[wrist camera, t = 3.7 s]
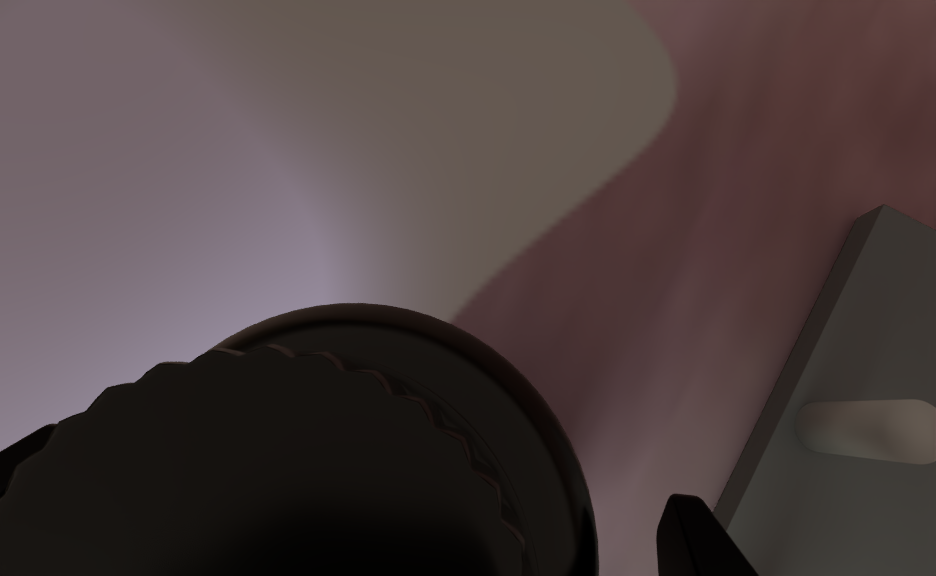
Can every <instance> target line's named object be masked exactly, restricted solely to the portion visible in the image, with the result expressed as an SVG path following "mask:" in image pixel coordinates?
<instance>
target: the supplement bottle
mask: <svg viewBox="0 0 936 576" xmlns="http://www.w3.org/2000/svg"><path fill="white" fill-rule="evenodd" d="M0 576H599V555H598V538H597V531H596V523H595V516H594V511H593V507H592V502H591V498H590V494H589V489H588V486H587V483H586V480H585V477H584V474H583V471H582V468H581V465H580V463H579V460H578V458H577V456H576V454H575V451H574V449H573V447H572V445H571V442H570V440H569V438H568V437H567V435H566V433H565V431H564V429H563V428H562V426H561V424H560V422H559V420H558V419H557V417H556V416H555V414H554V413H553V412H552V410H551V409H550V407H549V406H548V404H547V403H546V401H545V400H544V398H543V397H542V396H541V395H540V394H539V393H538V391H537V390H536V389H535V388H534V387H533V385H532V384H531V383H530V382H529V381H528V380H527V379H526V378H525V377H524V376H523V375H522V374H521V373H520V372H519V371H518V370H517V369H516V368H515V367H514V366H513V365H512V364H511V363H510V362H509V361H507V360H506V359H505V358H504V357H502V356H501V355H500V354H499V353H497V352H496V351H495V350H494V349H492V348H491V347H490V346H488V345H486V344H485V343H483V342H482V341H480V340H479V339H477V338H476V337H474V336H473V335H471V334H469V333H467V332H465V331H463V330H461V329H459V328H457V327H456V326H454V325H452V324H449V323H447V322H444V321H442V320H439V319H437V318H434V317H432V316H429V315H426V314H422V313H419V312H415V311H411V310H408V309H403V308H398V307H393V306H387V305H378V304H366V303H339V304H330V305H321V306H314V307H309V308H304V309H299V310H295V311H291V312H288V313H284V314H281V315H278V316H275V317H271V318H269V319H266V320H264V321H261V322H259V323H257V324H254V325H252V326H249V327H247V328H245V329H243V330H242V331H240V332H238V333H236V334H234V335H232V336H230V337H228V338H226V339H225V340H223V341H222V342H220V343H219V344H217V345H216V346H214V347H213V348H211V349H210V350H208V351H207V352H205V353H204V354H202V355H200V356H198V357H197V358H196V359H194V360H193V361H191V362H190V363H188V362H163V363H159V364H157V365H156V366H155V367H153V368H152V369H150V370H149V371H147V372H146V373H145V374H144V375H143V376H142V378H140V379H139V380H137V381H136V382H135V383H125V384H120V385H116V386H111V387H108V388H106V389H105V390H104V391H103V392H102V393H101V394H100V395H99V396H98V397H97V398H96V399H95V401H94V402H93V403H92V404H91V406H90V407H89V408H88V409H87V410H86V411H85V412H82V413H79V414H76V415H73V416H70V417H68V418H66V419H64V420H61V421H59V423H58V424H57V425H56V427H55V428H54V430H53V431H52V432H51V434H50V436H49V439H48V440H47V442H46V443H45V445H44V446H43V448H42V449H40V450H39V451H37V452H35V453H33V454H31V455H30V456H28V457H27V458H25V459H24V460H22V461H21V462H19V463H18V464H17V465H16V467H15V469H14V471H13V473H12V475H11V478H10V480H9V482H8V485H7V488H6V490H5V493H4V495H3V496H1V497H0Z"/></svg>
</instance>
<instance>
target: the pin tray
mask: <svg viewBox="0 0 936 576" xmlns="http://www.w3.org/2000/svg"><path fill="white" fill-rule="evenodd" d="M713 515H714V516H715V517H716V519H717V520H718V521H719V523H720V524H721V525H722V527H723V528H724V529H725V531H726V532H727V533H728V535H729V536H730V537H731V539H732V540H733V541H734V543H735V544H736V545H737V547H738V548H739V549H740V551H741V552H742V553H743V555H744V556H745V557H746V559H747V560H748V561H749V563H750V564H751V565H752V567H753V568H754V569H755V571H756V572H757V573H758V575H759V576H936V230H934V229H932V228H930V227H928V226H926V225H924V224H922V223H920V222H918V221H916V220H914V219H912V218H910V217H908V216H906V215H904V214H902V213H900V212H899V211H897V210H895V209H893V208H891V207H889V206H887V205H885V204H883V205H881V206H880V207H878V208H876V209H874V210H872V211H870V212H868V213H866V214H864V215H862V216H860V217H858V218H857V219H856V221H855V223H854V225H853V227H852V230H851V232H850V234H849V236H848V238H847V240H846V242H845V244H844V246H843V248H842V250H841V252H840V254H839V256H838V258H837V260H836V262H835V264H834V266H833V268H832V270H831V273H830V275H829V277H828V279H827V281H826V283H825V285H824V287H823V289H822V291H821V293H820V295H819V297H818V299H817V301H816V303H815V305H814V307H813V309H812V311H811V313H810V315H809V318H808V320H807V322H806V324H805V326H804V328H803V330H802V332H801V334H800V336H799V338H798V340H797V342H796V344H795V346H794V348H793V350H792V352H791V354H790V356H789V358H788V361H787V363H786V365H785V367H784V369H783V371H782V373H781V375H780V377H779V379H778V381H777V383H776V385H775V387H774V389H773V391H772V393H771V395H770V397H769V399H768V401H767V403H766V406H765V408H764V410H763V412H762V414H761V416H760V418H759V420H758V422H757V424H756V426H755V428H754V430H753V432H752V434H751V436H750V438H749V440H748V442H747V444H746V446H745V449H744V451H743V453H742V455H741V457H740V459H739V461H738V463H737V465H736V467H735V469H734V471H733V473H732V475H731V477H730V479H729V481H728V483H727V485H726V487H725V489H724V491H723V494H722V496H721V498H720V500H719V502H718V504H717V506H716V508H715V510H714V512H713Z"/></svg>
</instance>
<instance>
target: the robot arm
mask: <svg viewBox="0 0 936 576" xmlns="http://www.w3.org/2000/svg"><path fill="white" fill-rule="evenodd" d="M56 425H57V424H49V425H46V426H44V427H42V428H40V429H38V430H36V431H35V432H33V433H31V434H30V435H28V436H26V437H24V438H23V439H21V440H19V441H18V442H16V443H14V444H13V445H11V446H9V447H7V448H6V449H4V450H3V451H1V452H0V497H1V496H3V495H4V493H5V490H6V488H7V485H8V482H9V480H10V478H11V475H12V473H13V471H14V469H15V467H16V465H17V464H18V463H19V462H21V461H22V460H24V459H25V458H27V457H28V456H30V455H31V454H33V453H35V452H37V451H39V450H40V449H42V448H43V446H44V445H45V443H46V442H47V440H48V439H49V436H50V434H51V432H52V431H53V430H54V428H55V427H56ZM656 543H657V558H658V573H659V576H759V575H758V573H757V572H756V571H755V569H754V568H753V567H752V565H751V564H750V563H749V561H748V560H747V559H746V557H745V556H744V555H743V553H742V552H741V551H740V549H739V548H738V547H737V545H736V544H735V543H734V541H733V540H732V539H731V537H730V536H729V535H728V533H727V532H726V531H725V529H724V528H723V527H722V525H721V524H720V523H719V521H718V520H717V519H716V517H715V516H714V515H713V513H712V512H711V510H710V509H709V508H708V506H707V505H706V504H705V502H704V501H703V500H702V499H701V498H699V497H697V496H693V495H684V494H672V495H671V496H670V497H669V499H668V501H667V504H666V506H665V509H664V512H663V514H662V517H661V520H660V522H659V525H658V528H657V537H656Z"/></svg>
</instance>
